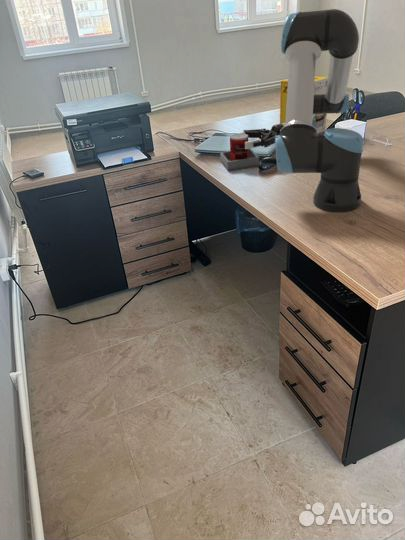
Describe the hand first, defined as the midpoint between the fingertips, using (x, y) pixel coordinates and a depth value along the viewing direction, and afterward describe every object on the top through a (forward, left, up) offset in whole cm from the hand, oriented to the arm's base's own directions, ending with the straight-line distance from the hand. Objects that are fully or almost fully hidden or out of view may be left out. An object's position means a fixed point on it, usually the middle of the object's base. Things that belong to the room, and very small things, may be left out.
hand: (238, 141), depth 168 cm
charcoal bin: (0, 0, -10) cm, 10 cm away
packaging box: (+32, -42, -10) cm, 54 cm away
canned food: (0, 0, -9) cm, 9 cm away
